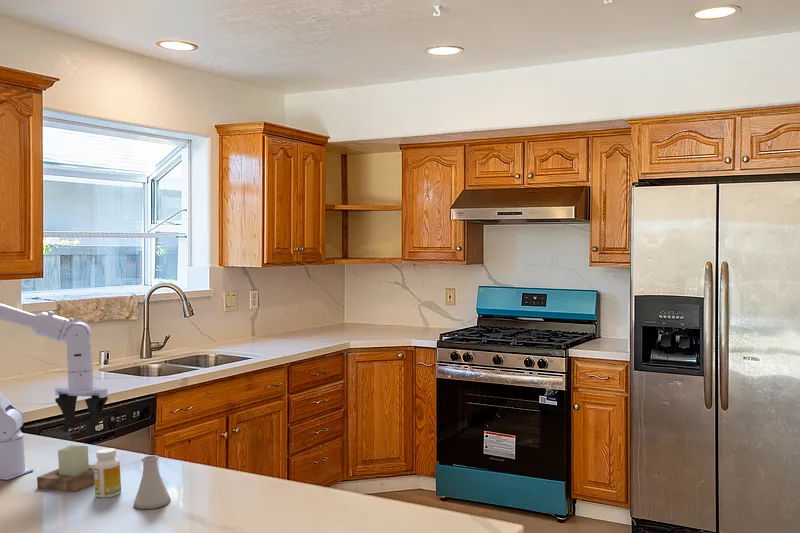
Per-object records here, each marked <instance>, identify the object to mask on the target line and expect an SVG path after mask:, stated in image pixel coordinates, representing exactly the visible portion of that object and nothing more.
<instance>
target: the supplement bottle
mask: <svg viewBox="0 0 800 533" xmlns="http://www.w3.org/2000/svg"><path fill="white" fill-rule="evenodd" d="M116 450H117V449H116V448H112V447H110V448H108V447H107V448H102V449H98V450H97V451H96V459H97V460H95V461H94V463H93V465H94V483H95V484H94V496H95V497H97V498H99V497H100V499H101V498H103V499H105V498H113V497H115V496H118V495H120V494H121V492H122V481H121V479H122V478H121V463H120V459H118V458H116V456H117V451H116Z"/></svg>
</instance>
